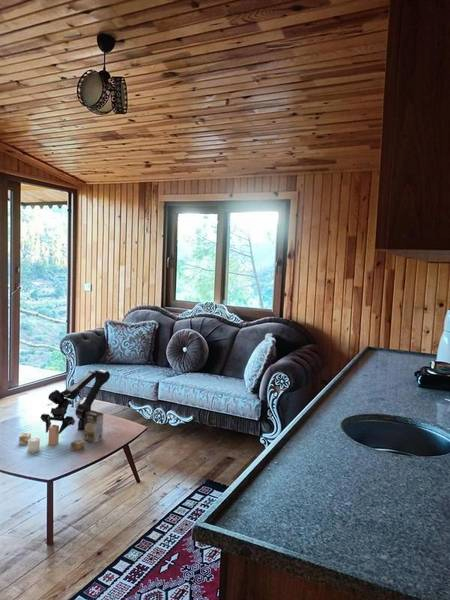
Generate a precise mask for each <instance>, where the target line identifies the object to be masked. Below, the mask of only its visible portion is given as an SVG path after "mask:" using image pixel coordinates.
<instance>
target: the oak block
mask: <svg viewBox="0 0 450 600" xmlns="http://www.w3.org/2000/svg"><path fill="white" fill-rule="evenodd" d="M31 436H32V434H31V432H22V433H20V435H18V444H19V445H28V440H29V439H31V438H32V437H31Z"/></svg>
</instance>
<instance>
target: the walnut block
mask: <svg viewBox="0 0 450 600" xmlns="http://www.w3.org/2000/svg"><path fill="white" fill-rule="evenodd" d="M70 450H71V451H73V452H77V453H79V452H81V451H83V450H85V440H81V439H75V440H73V441H71V443H70Z"/></svg>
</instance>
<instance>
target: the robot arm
mask: <svg viewBox="0 0 450 600" xmlns="http://www.w3.org/2000/svg"><path fill="white" fill-rule="evenodd" d="M110 378H111V373H110V371H107V370H104V369H98V370H94V369H93V370H92V369H90V370H89V371H88V372H87V373H86V374H85V375H84V376H83V377H82V378H80V379H79V380H78V381H77V382H76V383H75V384H73V385H70V386H68V387H66V388H65V389H64V390H63V391H59V390H58V389H55V390H53V391H52V392H50V393H49V394H48V397H47V398H48V400H49V401H50V402H52V403H53V404H54V405H57V406H56V407H51V410H50V414H51V415H52V416H51V415H50V414H49V413H42V414H41V415H40V419H41V421H42V422H43V423H45V433H46V434H47V433H49V427H50V426H52V422H51V421H55V422H62V423H61V425H60V427H59V435H60V434H62V433H63V432H64V430H65V429H67V427H69V426H74V425H75V423H76V420H75V419H74V417H73V416H72V415H66V414H67V411H68V407H69V405H73V402H72V400H75V399H77V397H78V396H79V395H80V393H81V390H82V389H83V388H85V387H86V386H87V385H88V384H89V383H90V382H91V381H92V380H94V383H93V385H92V386H91V389H90V390H89V392H88V394H87V396H86V398H85V400H84V402H82V403H79V404H78V405H77V407H76V408H75V416H76V417H77V419H78V422H77V431H83V432H84V426H85V413H87V412H89V411H92V405H93V403H94V401H95V399H96V398H97V396H98V394H99V392H100V389H101V388H102V386H103V385H104V384H106V383H107V382H108V381H109V379H110Z"/></svg>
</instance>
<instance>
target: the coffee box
mask: <svg viewBox="0 0 450 600" xmlns="http://www.w3.org/2000/svg"><path fill="white" fill-rule="evenodd" d="M103 424H104V412H99V411H95V410H92V409H91V411H89V412H87V413H85V426H84V431H83V440H84V441H85V440H86V441H89V442H91V443H97V442H100V441H101V440H102V439H103V427H104V426H103Z"/></svg>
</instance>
